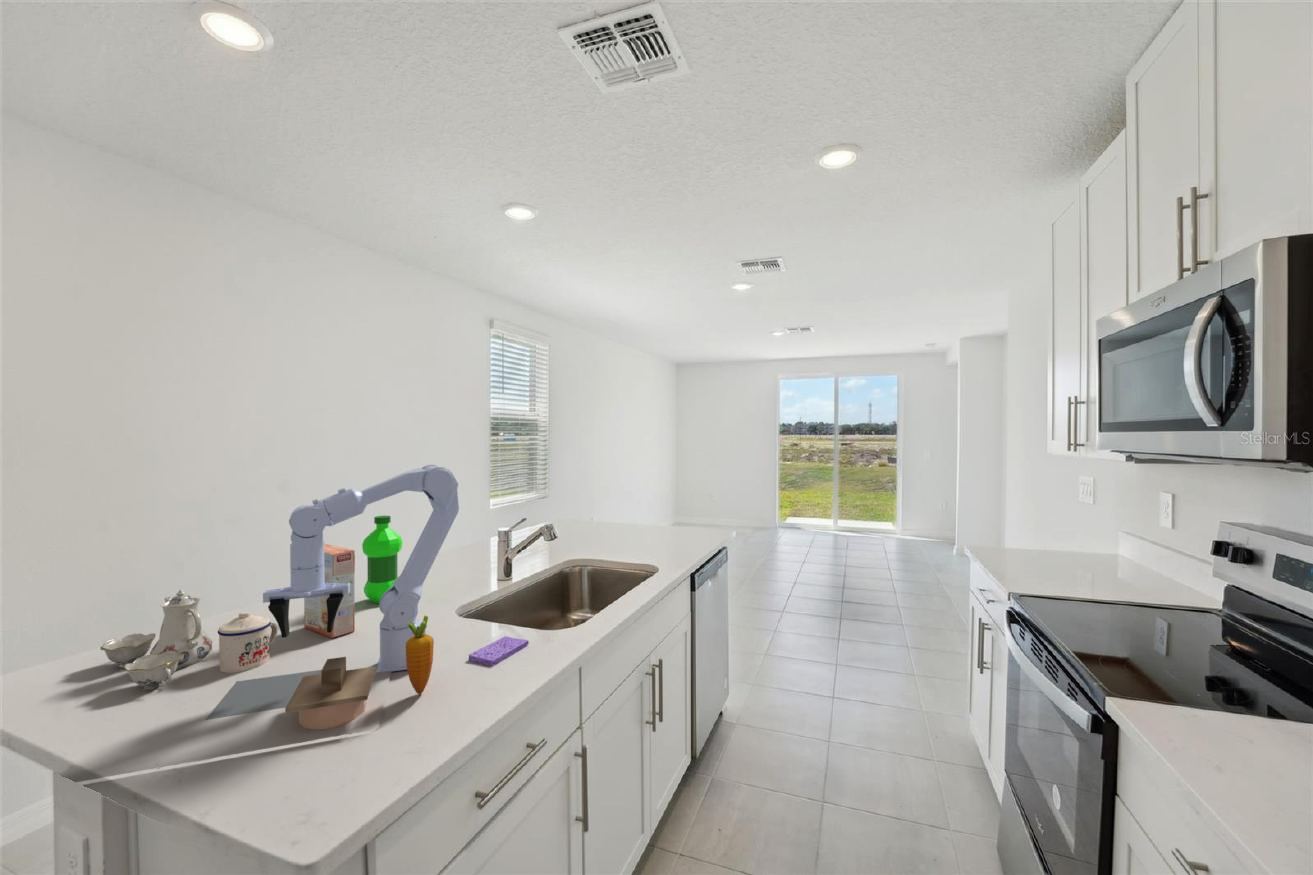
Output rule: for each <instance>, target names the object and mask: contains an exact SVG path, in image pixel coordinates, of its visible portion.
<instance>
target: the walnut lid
mask: <svg viewBox="0 0 1313 875" xmlns="http://www.w3.org/2000/svg"><path fill="white" fill-rule="evenodd" d="M376 669H377V666H370V667H364V668H356V669H355V668H354V669H347V656H340V657H334V658H327V659H326V661H325V663H324V665H323V667H322V669H320V670H321V674H318V675H311V676H304V677H303V678H302V680H301V682H300V683H299V685H298V687H297V689H296V690H295V692H294V694H293V696H292V697H291V699H290V701H289V703H288V704H287V706H286V707H284V710H285V711H284V712H285V713H286V714H287V713H293V712H299V711H300V710H307V709H313V708H319V707H326V706H332V705H338V704H344V703H351V702H357V701H363V700H366V701H368V699H369V694H370V691H371V688H372V685H373V682H374V677H375V675H376Z"/></svg>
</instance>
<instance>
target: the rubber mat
mask: <svg viewBox="0 0 1313 875" xmlns="http://www.w3.org/2000/svg"><path fill="white" fill-rule="evenodd" d="M321 670H322V669H318V670H310V671H302V672H296V673H290V674H280V675H274V676H266V677H260V678H250V679H245V680H239V681H238V680H237V681H236V682H235V683H234V684H233V685H232V686H231V687H230V689H229V690H228V692H227V693H226V694H225V695H224V697H223V698H222V699H221V700H220V701H219V702H218V704H217V705H216V706H215V707H214V708H213V709H212V711H211V712H210V713H209V715H207V717H206V718H205V721H207V720H212V719H218V718H219V719H220V718H225V717H231V716H237V715H246V714H251V713H257V712H264V711H270V710H277V709H278V710H279V709H283V708H284V709H285V708H286V706H287V704H288V703H289V701H290V699H291V697H292V696H293V694H294V692H295V690H296V689H297V687H298V685H299V683H300V682H301V680H302V678H303V677H304V676H311V675H318V674H321Z"/></svg>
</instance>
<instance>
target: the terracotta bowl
mask: <svg viewBox="0 0 1313 875" xmlns="http://www.w3.org/2000/svg"><path fill="white" fill-rule="evenodd" d="M366 707H367V700H363V701H357V702H351V703H344V704H338V705H332V706H326V707H319V708H313V709H307V710H300V711H298V722H299V725H301V726H302V727H303V728H304V729H308V730H309V729H311V730H323V729H330V728H336V727H339V726H342V725H344V724H347V723H350V722H352V721H355V719H357V718H359V717H360V715H362V714H363V713H364V712H365V710H366Z"/></svg>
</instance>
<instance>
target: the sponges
mask: <svg viewBox="0 0 1313 875" xmlns="http://www.w3.org/2000/svg"><path fill="white" fill-rule="evenodd" d="M529 643H530V642H529V640H528V639H523V638H517V637H510V636H506V635H504V636H502V637H501V638H499V639H497V640H495V641H493V642H492V643H490V644H487V645H486V646H483V647H481V648H479V649H477V650H475V651H473V652H470V653H469V654H468V661H470V662H474V663H478V664H482V665H487V666H491V667H492V666H493V667H494V666H496V665H498V664H499V663H500V662H502V661H504V660H506V659H508V658H509V657H510V656H513V655H514V654H516V653H518V652H519V651H521V650H523V649H524V648H527V646H528V645H529Z"/></svg>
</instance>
